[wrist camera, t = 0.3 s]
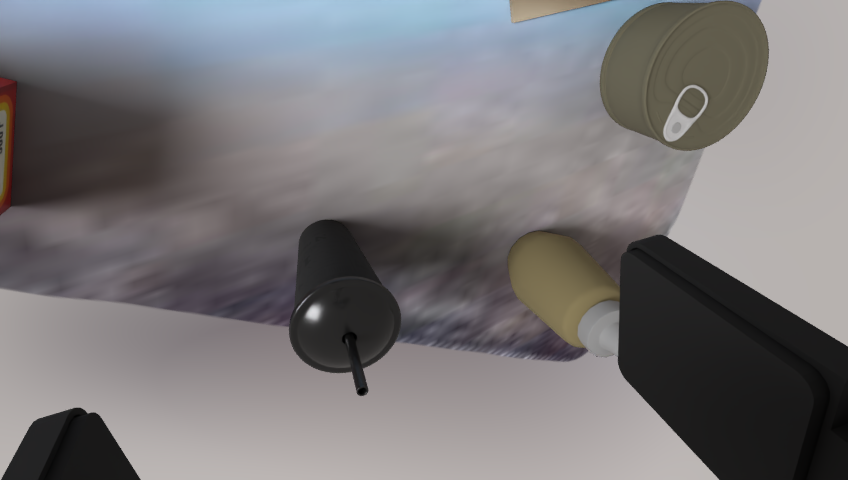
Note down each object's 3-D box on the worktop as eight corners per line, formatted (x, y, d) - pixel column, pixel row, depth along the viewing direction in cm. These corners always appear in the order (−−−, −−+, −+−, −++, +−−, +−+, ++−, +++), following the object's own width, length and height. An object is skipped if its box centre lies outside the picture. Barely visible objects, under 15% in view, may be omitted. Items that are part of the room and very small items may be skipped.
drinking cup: (378, 216, 47) (445, 347, 30) (352, 287, 49) (399, 446, 32) (296, 194, 44) (318, 325, 27) (272, 270, 46) (277, 436, 29)
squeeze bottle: (491, 290, 54) (582, 411, 39) (503, 220, 51) (609, 321, 35) (558, 287, 57) (670, 399, 41) (574, 219, 53) (702, 313, 38)
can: (730, 41, 50) (794, 48, 44) (657, 151, 53) (707, 172, 47) (649, -28, 44) (709, -31, 38) (573, 98, 48) (618, 114, 42)
